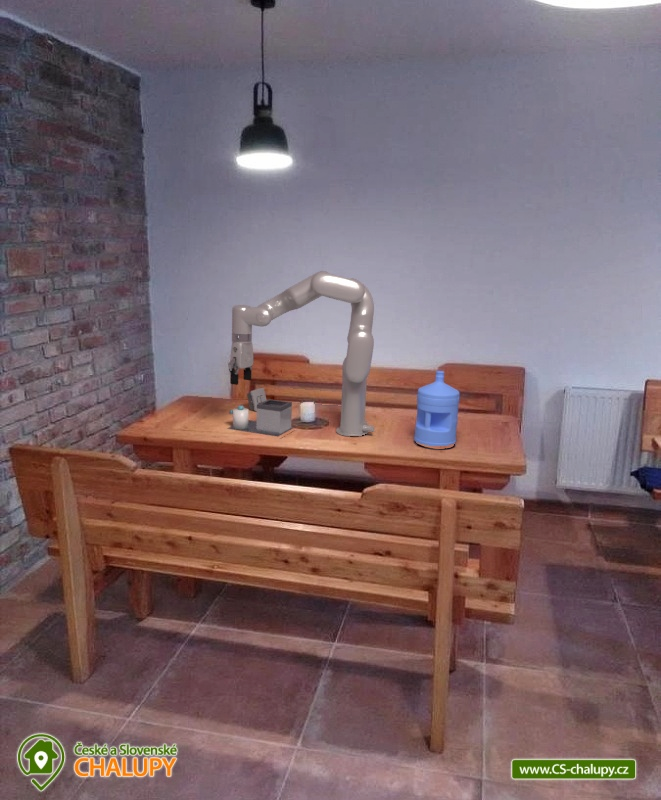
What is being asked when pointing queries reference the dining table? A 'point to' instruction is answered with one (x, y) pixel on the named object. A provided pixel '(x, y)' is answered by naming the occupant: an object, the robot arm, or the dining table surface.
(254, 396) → the electrical switch
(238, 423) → the pump
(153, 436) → the dining table surface
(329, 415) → the dining table surface
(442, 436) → the water jug
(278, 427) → the grey box
